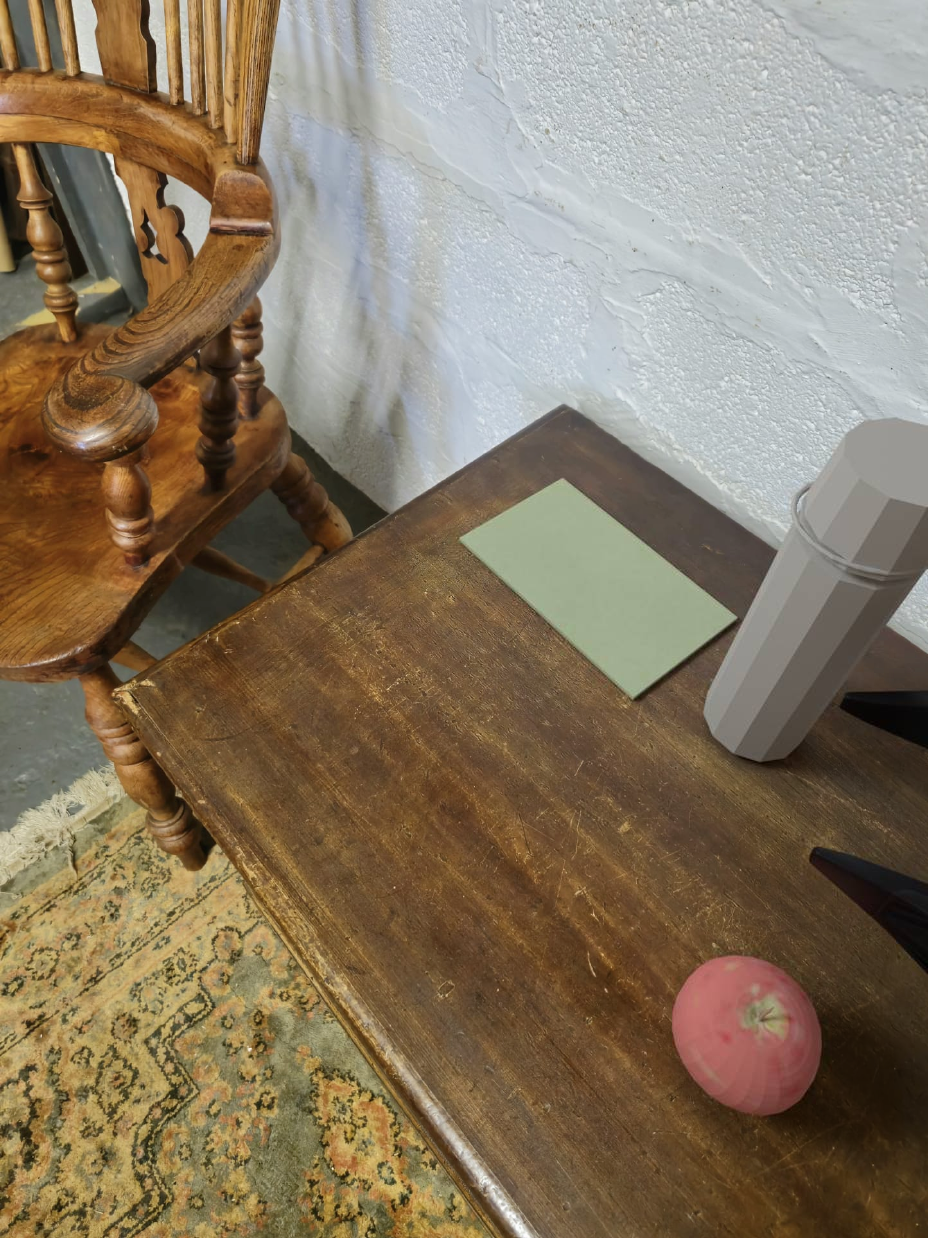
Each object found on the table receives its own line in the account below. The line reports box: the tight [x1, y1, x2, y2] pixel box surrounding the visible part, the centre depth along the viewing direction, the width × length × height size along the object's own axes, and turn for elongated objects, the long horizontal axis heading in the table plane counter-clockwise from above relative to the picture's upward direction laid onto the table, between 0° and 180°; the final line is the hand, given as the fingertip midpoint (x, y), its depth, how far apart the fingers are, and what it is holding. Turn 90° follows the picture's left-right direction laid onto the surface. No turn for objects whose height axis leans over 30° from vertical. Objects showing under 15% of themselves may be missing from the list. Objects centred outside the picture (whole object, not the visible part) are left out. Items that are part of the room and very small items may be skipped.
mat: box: [458, 477, 739, 701], centre depth 69 cm, size 20×12×1 cm, turn 40°
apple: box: [671, 954, 823, 1117], centre depth 45 cm, size 7×7×8 cm
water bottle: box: [702, 417, 928, 763], centre depth 52 cm, size 9×8×25 cm
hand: (827, 771), depth 41 cm, fingers open, 9 cm apart
